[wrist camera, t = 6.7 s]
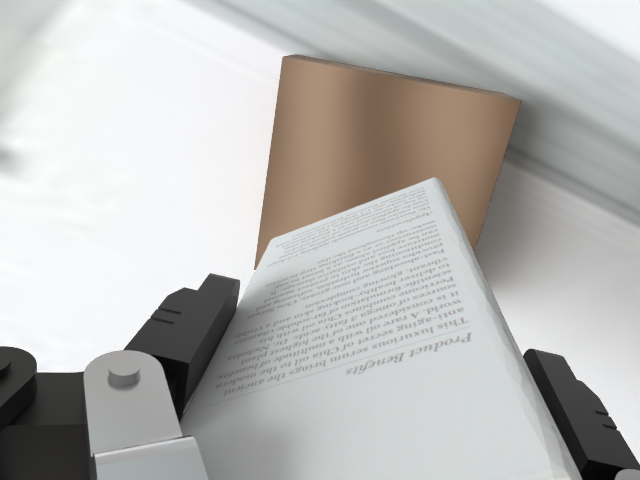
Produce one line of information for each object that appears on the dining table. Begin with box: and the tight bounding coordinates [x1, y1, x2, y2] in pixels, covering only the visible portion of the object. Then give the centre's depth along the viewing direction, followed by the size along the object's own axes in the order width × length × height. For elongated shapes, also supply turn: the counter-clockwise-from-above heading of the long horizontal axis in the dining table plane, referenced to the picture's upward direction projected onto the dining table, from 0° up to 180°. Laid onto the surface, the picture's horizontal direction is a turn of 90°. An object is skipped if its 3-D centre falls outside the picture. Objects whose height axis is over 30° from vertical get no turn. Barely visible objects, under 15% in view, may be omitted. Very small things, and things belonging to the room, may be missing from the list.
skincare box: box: [179, 177, 582, 480], centre depth 12 cm, size 6×4×12 cm
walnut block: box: [254, 55, 521, 270], centre depth 27 cm, size 11×11×4 cm
